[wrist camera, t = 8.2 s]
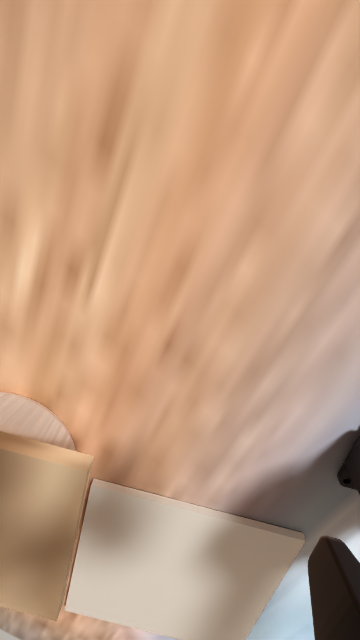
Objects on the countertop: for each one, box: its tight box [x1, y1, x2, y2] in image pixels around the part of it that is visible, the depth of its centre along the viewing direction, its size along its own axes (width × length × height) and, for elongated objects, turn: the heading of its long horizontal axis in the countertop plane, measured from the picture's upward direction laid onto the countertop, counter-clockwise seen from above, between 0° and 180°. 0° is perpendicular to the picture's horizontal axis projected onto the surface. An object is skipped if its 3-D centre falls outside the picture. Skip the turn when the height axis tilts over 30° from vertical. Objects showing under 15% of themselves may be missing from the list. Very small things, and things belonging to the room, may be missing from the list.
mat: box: [65, 478, 306, 640], centre depth 28 cm, size 16×16×1 cm
